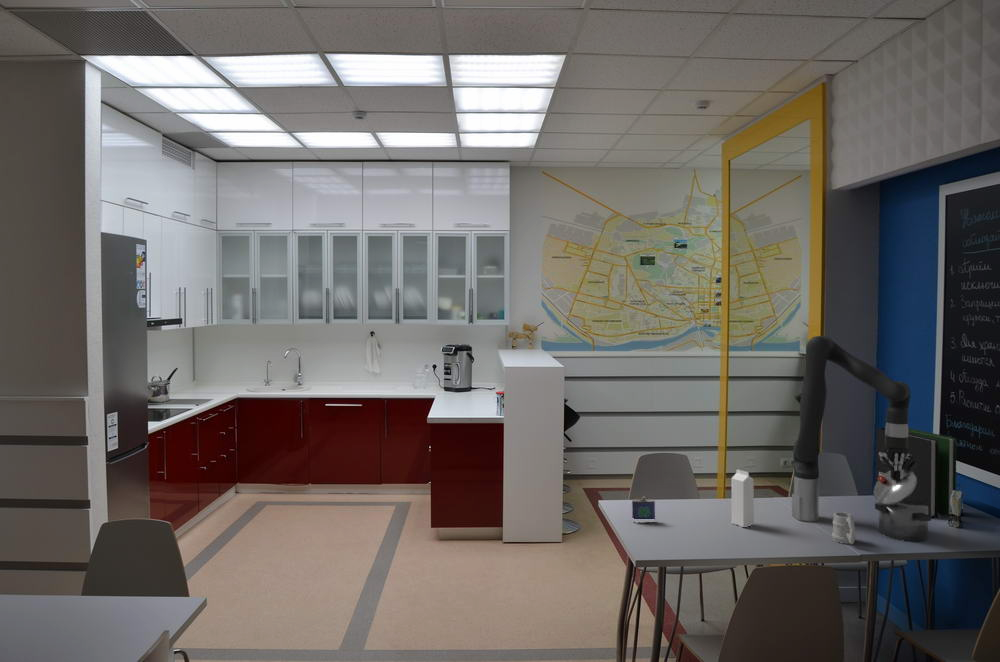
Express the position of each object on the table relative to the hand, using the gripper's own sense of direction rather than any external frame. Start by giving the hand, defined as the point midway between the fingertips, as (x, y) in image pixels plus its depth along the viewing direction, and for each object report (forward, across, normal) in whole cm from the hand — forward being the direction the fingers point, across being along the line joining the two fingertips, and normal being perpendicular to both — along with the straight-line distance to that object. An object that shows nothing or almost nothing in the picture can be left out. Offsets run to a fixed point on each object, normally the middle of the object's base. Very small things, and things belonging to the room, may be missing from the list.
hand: (895, 480), depth 249 cm
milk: (+22, -52, +17) cm, 59 cm away
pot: (+21, +3, 0) cm, 21 cm away
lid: (+2, +1, 0) cm, 2 cm away
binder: (+21, +29, +30) cm, 47 cm away
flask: (+23, -90, +25) cm, 96 cm away
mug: (+22, -23, -6) cm, 32 cm away
